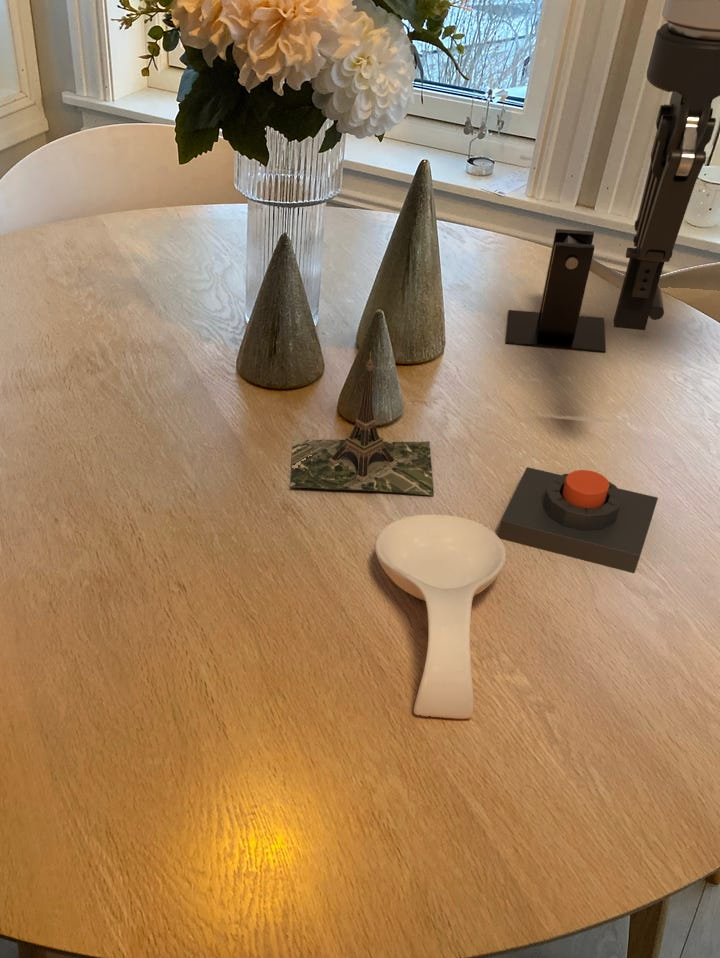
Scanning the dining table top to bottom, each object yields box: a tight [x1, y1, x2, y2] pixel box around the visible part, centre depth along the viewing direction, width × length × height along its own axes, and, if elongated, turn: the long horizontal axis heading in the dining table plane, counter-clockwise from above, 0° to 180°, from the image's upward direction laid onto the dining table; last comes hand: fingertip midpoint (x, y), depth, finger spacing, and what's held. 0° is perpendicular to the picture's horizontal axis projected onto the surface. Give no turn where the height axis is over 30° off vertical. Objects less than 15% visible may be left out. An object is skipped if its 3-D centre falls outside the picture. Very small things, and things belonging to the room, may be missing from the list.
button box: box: [497, 466, 659, 574], centre depth 96 cm, size 13×10×4 cm
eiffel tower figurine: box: [289, 351, 435, 497], centre depth 101 cm, size 15×10×13 cm
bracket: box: [504, 228, 607, 354], centre depth 121 cm, size 12×9×13 cm
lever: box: [563, 235, 665, 321], centre depth 119 cm, size 14×6×2 cm, turn 77°
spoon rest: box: [374, 513, 508, 720], centre depth 86 cm, size 24×12×7 cm, turn 175°
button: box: [562, 469, 610, 508], centre depth 95 cm, size 4×4×2 cm
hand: (629, 324), depth 90 cm, fingers closed
